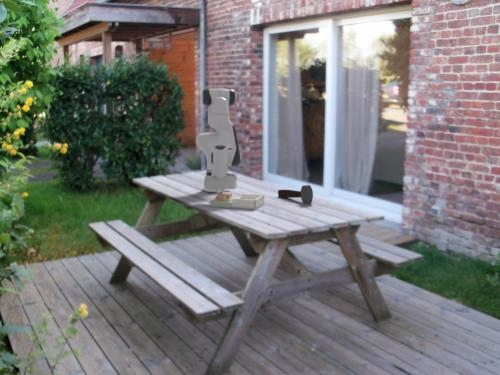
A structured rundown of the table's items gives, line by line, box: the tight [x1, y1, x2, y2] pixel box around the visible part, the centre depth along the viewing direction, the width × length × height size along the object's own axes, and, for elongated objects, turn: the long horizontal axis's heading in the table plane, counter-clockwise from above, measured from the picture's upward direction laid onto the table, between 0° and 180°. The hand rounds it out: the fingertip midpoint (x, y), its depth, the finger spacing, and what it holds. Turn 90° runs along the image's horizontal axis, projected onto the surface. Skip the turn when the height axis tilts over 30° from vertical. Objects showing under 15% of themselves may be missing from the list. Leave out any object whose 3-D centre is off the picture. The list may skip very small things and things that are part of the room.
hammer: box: [277, 184, 314, 205], centre depth 362 cm, size 5×11×30 cm
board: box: [209, 196, 242, 209], centre depth 348 cm, size 18×14×3 cm
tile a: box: [221, 192, 233, 199], centre depth 352 cm, size 5×5×2 cm
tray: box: [231, 193, 265, 210], centre depth 344 cm, size 18×14×5 cm
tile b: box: [214, 194, 226, 201], centre depth 344 cm, size 5×5×2 cm
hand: (220, 195), depth 353 cm, fingers closed
